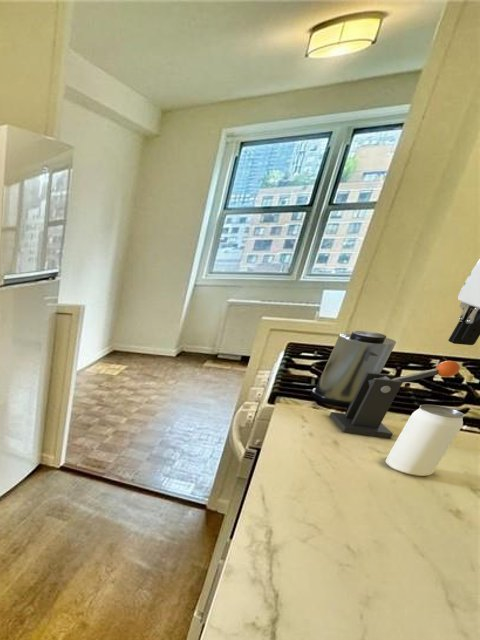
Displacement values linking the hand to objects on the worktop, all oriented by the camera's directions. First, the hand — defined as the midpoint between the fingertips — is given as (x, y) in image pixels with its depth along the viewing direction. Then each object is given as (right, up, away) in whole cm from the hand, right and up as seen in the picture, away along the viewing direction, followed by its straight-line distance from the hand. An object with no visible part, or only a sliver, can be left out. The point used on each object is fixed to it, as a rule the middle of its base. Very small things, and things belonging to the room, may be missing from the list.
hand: (460, 343), depth 95 cm
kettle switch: (-3, -7, +6) cm, 10 cm away
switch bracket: (-8, -16, +13) cm, 22 cm away
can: (-14, -25, -3) cm, 29 cm away
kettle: (+1, -8, +27) cm, 28 cm away
